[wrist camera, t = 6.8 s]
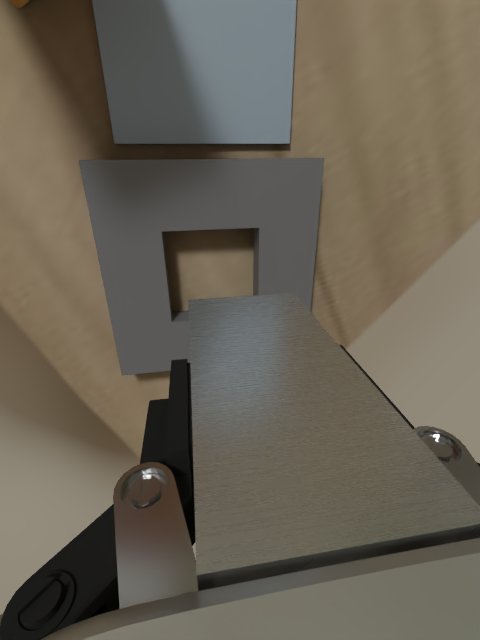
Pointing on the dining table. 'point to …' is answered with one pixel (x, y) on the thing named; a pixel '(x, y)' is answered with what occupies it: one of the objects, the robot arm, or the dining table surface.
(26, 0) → the small box
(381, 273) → the dining table surface
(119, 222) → the socket block
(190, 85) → the blue pad
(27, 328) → the dining table surface
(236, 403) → the steel plug
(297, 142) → the dining table surface
